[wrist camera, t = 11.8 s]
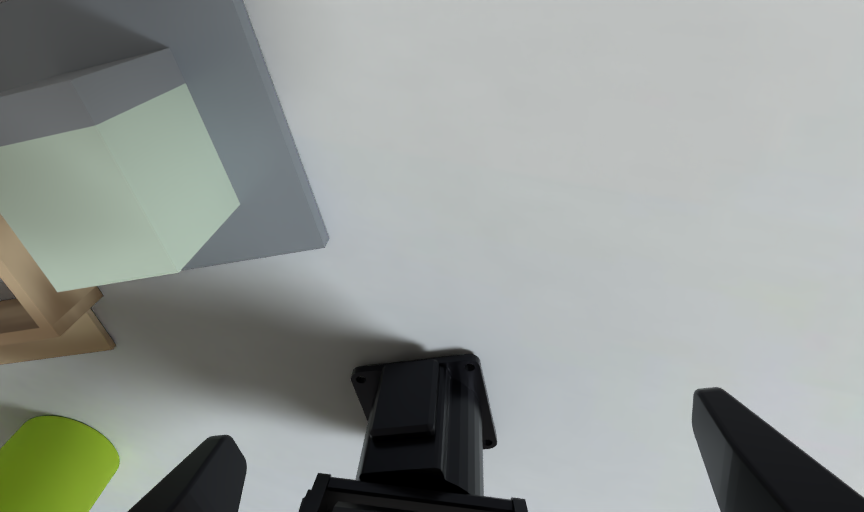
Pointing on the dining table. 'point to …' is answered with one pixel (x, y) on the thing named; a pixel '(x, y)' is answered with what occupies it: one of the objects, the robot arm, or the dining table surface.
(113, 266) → the box
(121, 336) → the dining table surface
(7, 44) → the coaster
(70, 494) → the soap dispenser
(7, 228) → the wooden frame
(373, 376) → the robot arm
